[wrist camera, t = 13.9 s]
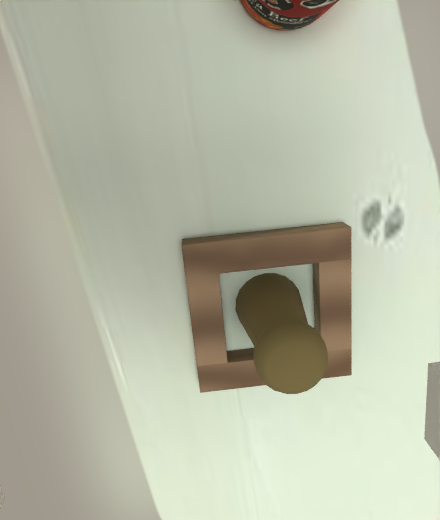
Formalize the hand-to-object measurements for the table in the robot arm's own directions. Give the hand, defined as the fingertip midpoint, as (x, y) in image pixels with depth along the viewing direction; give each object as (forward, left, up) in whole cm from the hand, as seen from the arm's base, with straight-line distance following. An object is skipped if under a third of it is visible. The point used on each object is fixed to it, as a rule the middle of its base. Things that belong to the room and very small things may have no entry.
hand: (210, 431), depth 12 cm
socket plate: (+7, +5, -25) cm, 27 cm away
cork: (+7, +5, -25) cm, 27 cm away
